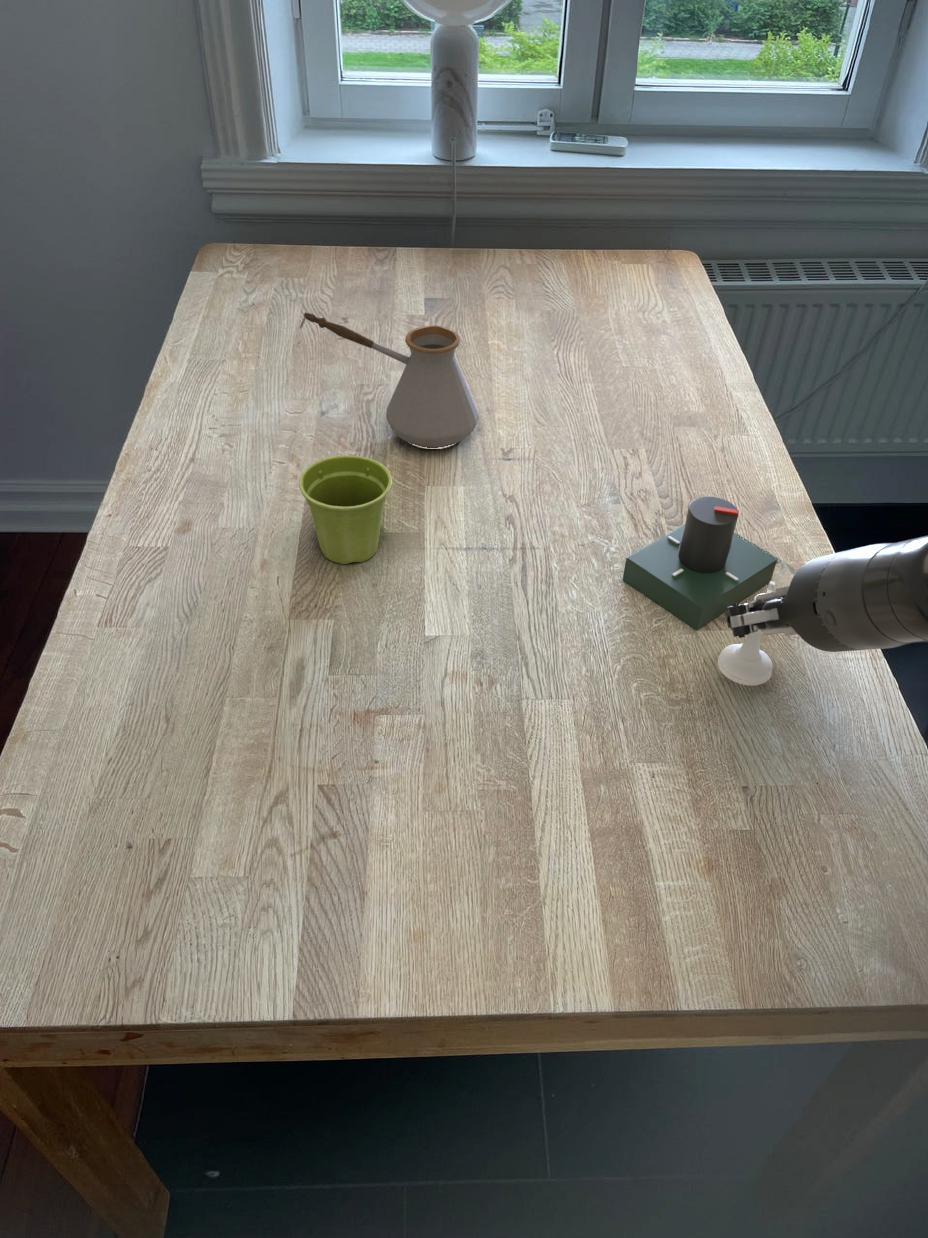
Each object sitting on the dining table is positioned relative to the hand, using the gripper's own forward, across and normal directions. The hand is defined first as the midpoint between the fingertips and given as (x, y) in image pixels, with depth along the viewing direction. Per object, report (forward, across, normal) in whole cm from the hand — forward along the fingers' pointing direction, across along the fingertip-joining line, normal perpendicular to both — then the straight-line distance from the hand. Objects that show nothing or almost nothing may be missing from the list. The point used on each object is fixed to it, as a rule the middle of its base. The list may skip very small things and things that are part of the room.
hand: (744, 616), depth 88 cm
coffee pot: (+39, +20, -30) cm, 54 cm away
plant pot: (+24, +31, -15) cm, 42 cm away
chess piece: (+2, 0, +5) cm, 5 cm away
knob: (+11, -3, -6) cm, 13 cm away
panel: (+13, -3, -4) cm, 14 cm away
